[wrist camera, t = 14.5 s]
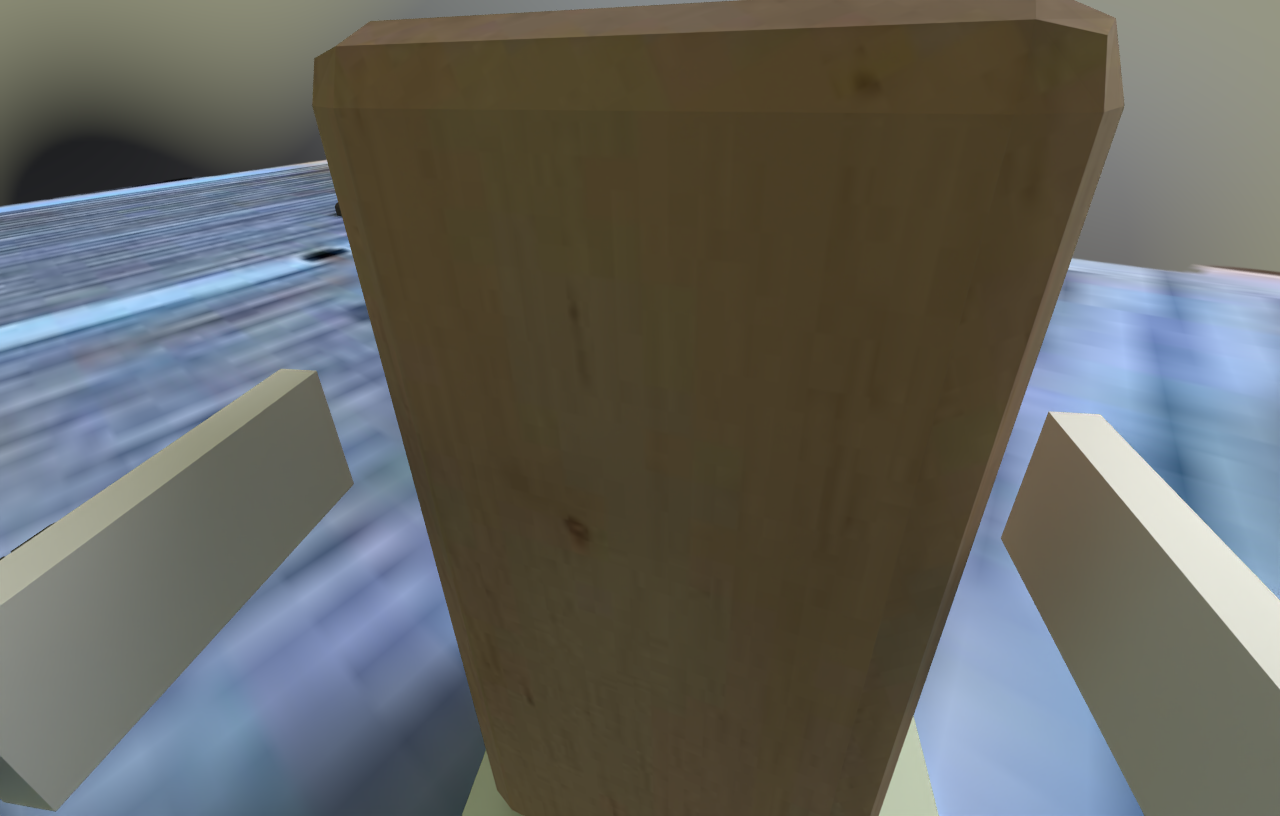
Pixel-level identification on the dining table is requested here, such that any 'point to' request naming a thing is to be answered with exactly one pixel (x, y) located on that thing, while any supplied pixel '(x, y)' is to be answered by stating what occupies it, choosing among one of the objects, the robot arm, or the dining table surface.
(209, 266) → the dining table surface
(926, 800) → the mat
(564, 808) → the wooden block
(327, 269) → the dining table surface
